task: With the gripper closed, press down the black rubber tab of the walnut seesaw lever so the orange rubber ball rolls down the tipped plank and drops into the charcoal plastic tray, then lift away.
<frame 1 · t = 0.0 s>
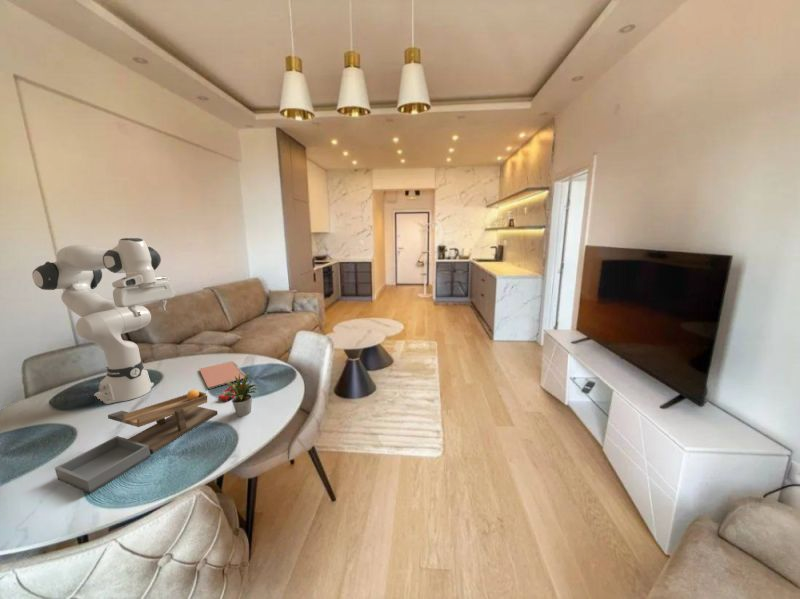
hand: (150, 313, 127), 39 cm above the table, tool pointing down, fingers open, 8 cm apart
lever: (161, 406, 115), point 9 cm above the table, hinge at -10.0°, touching ball
lever stand: (172, 429, 116), on the table
house plant: (241, 414, 125), on the table
notebook: (223, 376, 161), on the table
tray: (106, 467, 97), on the table
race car: (233, 395, 141), on the table
ball: (193, 394, 123), point 9 cm above the table, tilted 19°, touching lever
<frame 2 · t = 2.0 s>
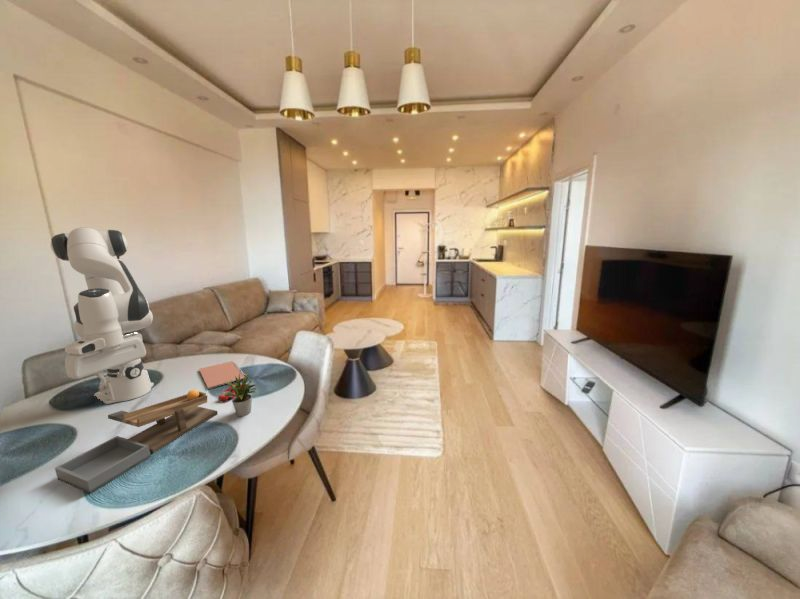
hand: (113, 379, 104), 23 cm above the table, tool pointing down, fingers open, 3 cm apart
nothing on the table moved.
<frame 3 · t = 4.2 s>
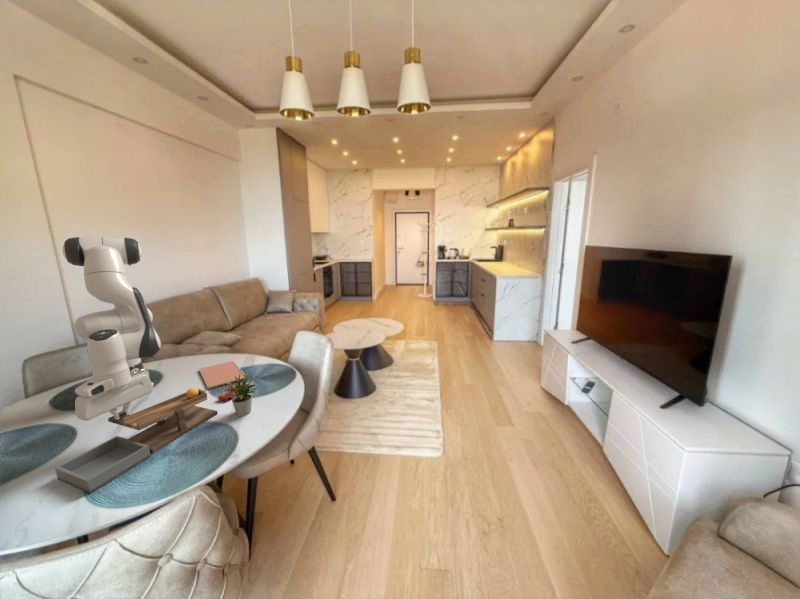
hand: (121, 417, 107), 10 cm above the table, tool pointing down, fingers closed, pressing on lever
lever: (161, 406, 115), point 9 cm above the table, hinge at -4.7°, touching ball, gripper
ball: (192, 393, 122), point 10 cm above the table, tilted 13°, touching lever
everything else where it was.
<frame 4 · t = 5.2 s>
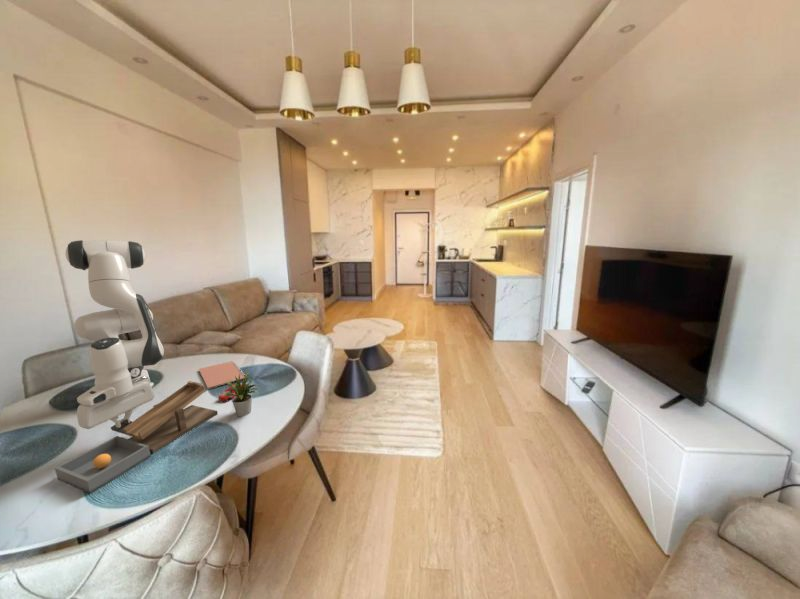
hand: (123, 425, 107), 7 cm above the table, tool pointing down, fingers closed
lever: (160, 406, 115), point 9 cm above the table, hinge at 12.5°, touching gripper
ball: (102, 461, 96), point 3 cm above the table, tilted 139°, touching tray
everything else where it was.
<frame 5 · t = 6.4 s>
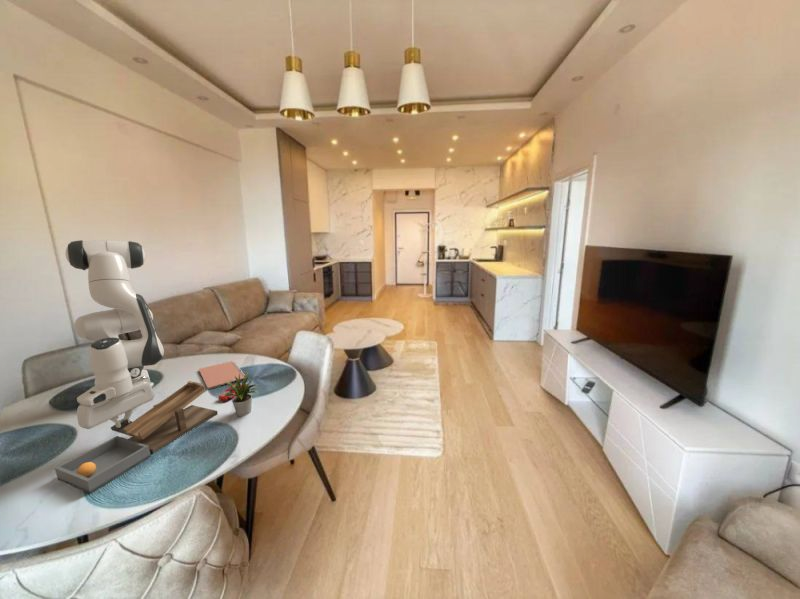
hand: (123, 425, 107), 7 cm above the table, tool pointing down, fingers closed
ball: (86, 469, 93), point 3 cm above the table, tilted 75°, touching tray
everything else where it was.
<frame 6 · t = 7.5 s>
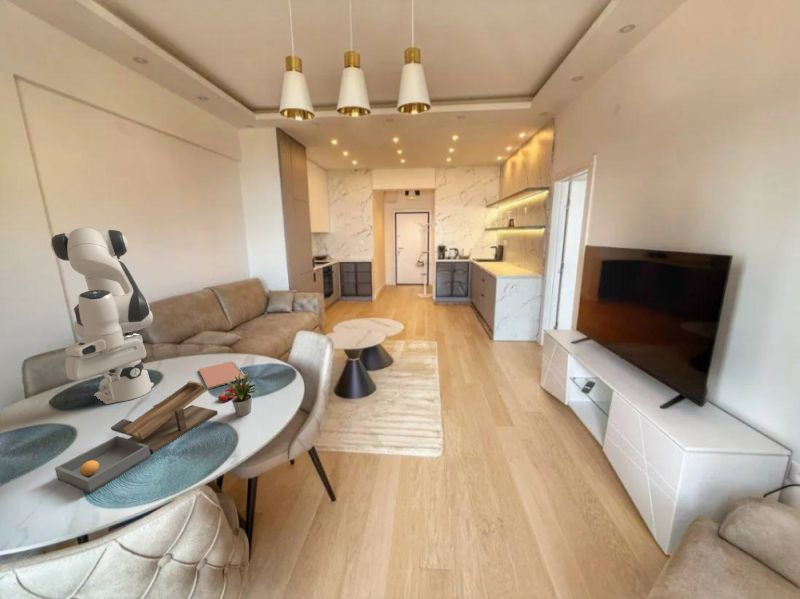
hand: (114, 381, 104), 23 cm above the table, tool pointing down, fingers closed
lever: (160, 406, 115), point 9 cm above the table, hinge at 12.5°
ball: (89, 468, 93), point 3 cm above the table, tilted 95°, touching tray
everything else where it was.
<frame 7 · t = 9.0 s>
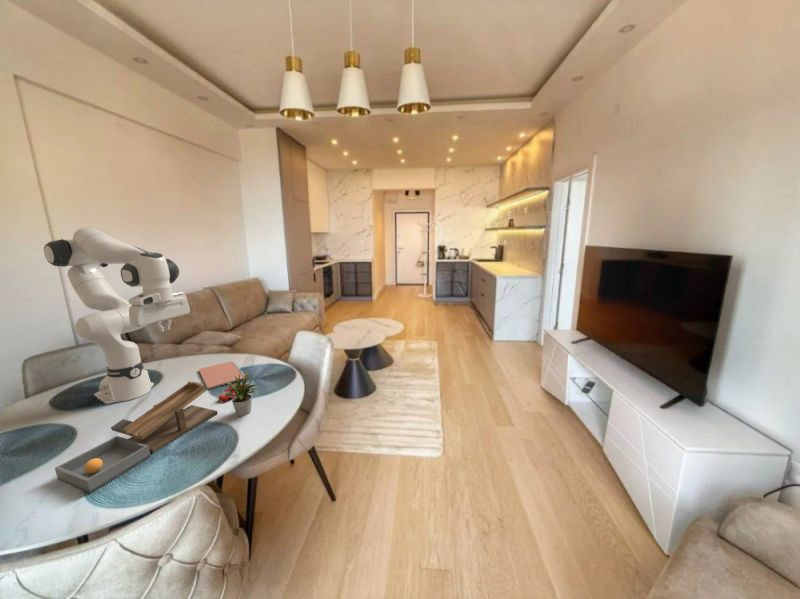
hand: (164, 331, 123), 33 cm above the table, tool pointing down, fingers closed
ball: (93, 465, 94), point 3 cm above the table, tilted 123°, touching tray
everything else where it was.
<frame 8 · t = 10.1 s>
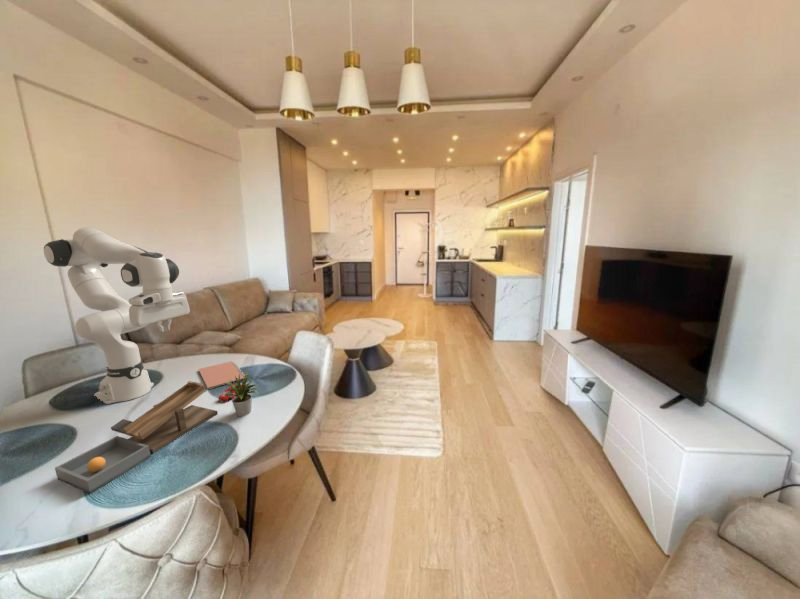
hand: (164, 331, 123), 33 cm above the table, tool pointing down, fingers closed
ball: (96, 464, 95), point 3 cm above the table, tilted 143°, touching tray
everything else where it was.
at the end: ball inside the target area on the tray (2.0 cm from its centre), point 2.8 cm above the tray's base; lever at +12° (first picture: -10°) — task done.
